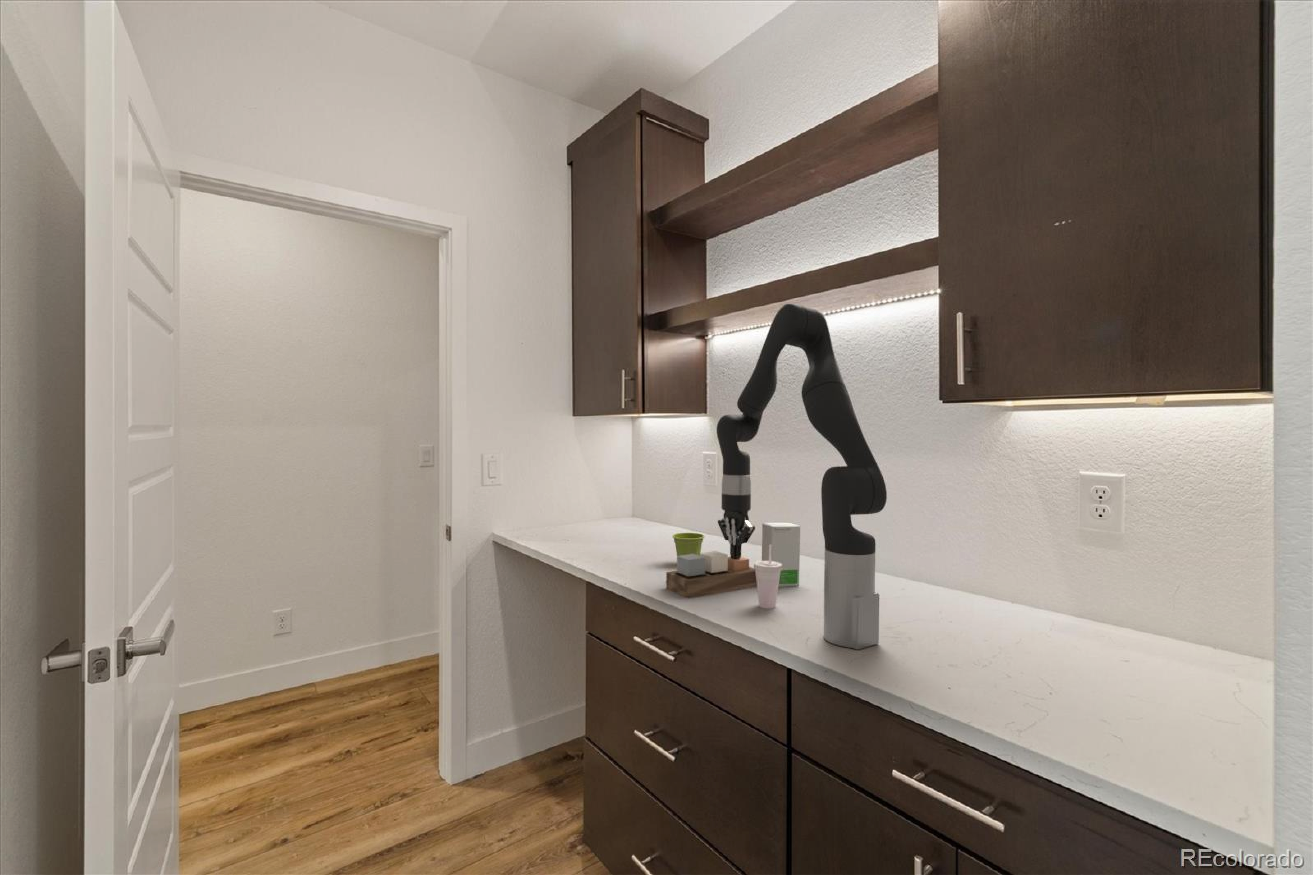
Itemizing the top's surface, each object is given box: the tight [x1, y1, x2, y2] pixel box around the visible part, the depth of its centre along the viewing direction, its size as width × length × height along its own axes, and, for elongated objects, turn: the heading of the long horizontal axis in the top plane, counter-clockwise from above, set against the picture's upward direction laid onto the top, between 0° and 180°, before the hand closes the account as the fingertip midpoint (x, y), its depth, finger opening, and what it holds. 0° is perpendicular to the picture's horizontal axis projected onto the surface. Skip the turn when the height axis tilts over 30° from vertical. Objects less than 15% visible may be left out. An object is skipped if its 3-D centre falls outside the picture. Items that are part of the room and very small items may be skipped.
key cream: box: [700, 550, 729, 573], centre depth 150 cm, size 5×5×4 cm
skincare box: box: [761, 522, 801, 588], centre depth 154 cm, size 8×7×16 cm
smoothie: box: [753, 545, 782, 610], centre depth 134 cm, size 6×6×14 cm
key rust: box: [728, 555, 750, 572], centre depth 154 cm, size 5×5×4 cm
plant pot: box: [672, 532, 705, 557], centre depth 174 cm, size 9×9×9 cm
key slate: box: [676, 554, 705, 576], centre depth 146 cm, size 5×5×4 cm
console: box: [665, 566, 757, 599], centre depth 150 cm, size 10×22×4 cm, turn 121°
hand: (735, 558), depth 154 cm, fingers closed
